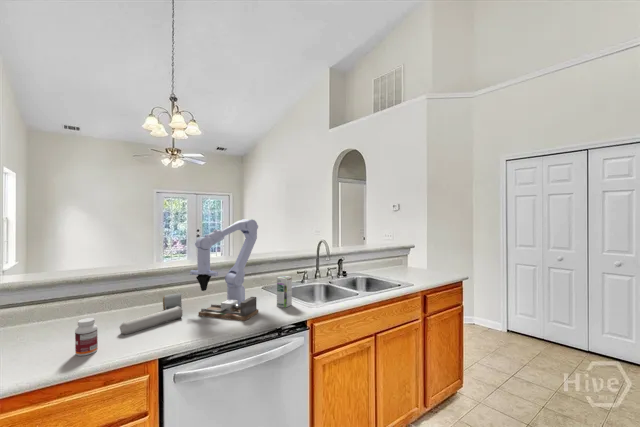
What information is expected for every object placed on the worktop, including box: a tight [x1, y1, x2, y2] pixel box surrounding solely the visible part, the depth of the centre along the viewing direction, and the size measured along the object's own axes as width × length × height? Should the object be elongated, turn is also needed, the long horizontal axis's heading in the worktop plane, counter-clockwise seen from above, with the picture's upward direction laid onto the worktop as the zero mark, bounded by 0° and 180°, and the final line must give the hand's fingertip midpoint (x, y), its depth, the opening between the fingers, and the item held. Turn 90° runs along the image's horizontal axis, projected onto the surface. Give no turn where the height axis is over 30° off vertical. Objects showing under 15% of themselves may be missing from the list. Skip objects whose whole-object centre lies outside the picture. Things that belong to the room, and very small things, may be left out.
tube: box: [119, 306, 183, 335], centre depth 138 cm, size 5×5×25 cm
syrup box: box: [276, 275, 293, 309], centre depth 166 cm, size 6×6×14 cm
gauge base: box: [197, 296, 259, 322], centre depth 153 cm, size 24×12×8 cm, turn 73°
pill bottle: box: [74, 317, 99, 357], centre depth 112 cm, size 6×6×11 cm
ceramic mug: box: [162, 292, 183, 311], centre depth 159 cm, size 11×8×8 cm
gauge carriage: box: [220, 299, 240, 312], centre depth 151 cm, size 8×9×4 cm
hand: (203, 290), depth 159 cm, fingers closed
